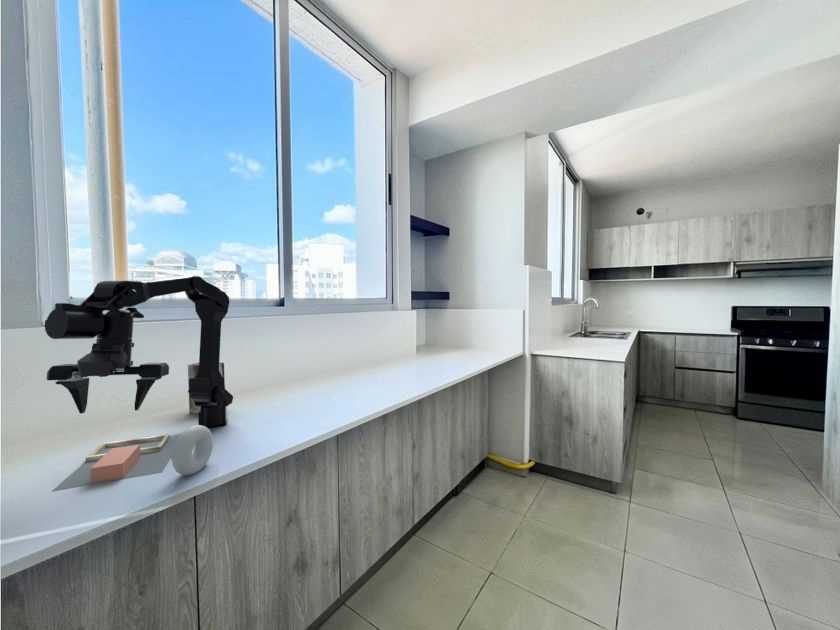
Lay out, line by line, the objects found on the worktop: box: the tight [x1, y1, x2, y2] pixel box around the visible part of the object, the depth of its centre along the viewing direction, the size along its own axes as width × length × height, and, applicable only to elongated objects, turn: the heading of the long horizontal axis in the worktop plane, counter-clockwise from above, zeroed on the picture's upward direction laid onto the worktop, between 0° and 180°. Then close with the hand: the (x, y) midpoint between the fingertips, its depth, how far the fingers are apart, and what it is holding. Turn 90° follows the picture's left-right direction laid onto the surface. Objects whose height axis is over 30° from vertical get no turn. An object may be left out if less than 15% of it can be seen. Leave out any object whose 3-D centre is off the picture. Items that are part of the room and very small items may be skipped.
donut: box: [171, 424, 214, 476], centre depth 71 cm, size 10×4×10 cm, turn 178°
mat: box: [51, 433, 182, 492], centre depth 77 cm, size 17×23×1 cm
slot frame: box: [85, 433, 171, 462], centre depth 81 cm, size 14×9×1 cm, turn 115°
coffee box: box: [187, 362, 226, 414], centre depth 112 cm, size 9×6×16 cm
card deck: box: [91, 445, 140, 483], centre depth 71 cm, size 5×10×3 cm, turn 25°
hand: (110, 411), depth 71 cm, fingers open, 9 cm apart
